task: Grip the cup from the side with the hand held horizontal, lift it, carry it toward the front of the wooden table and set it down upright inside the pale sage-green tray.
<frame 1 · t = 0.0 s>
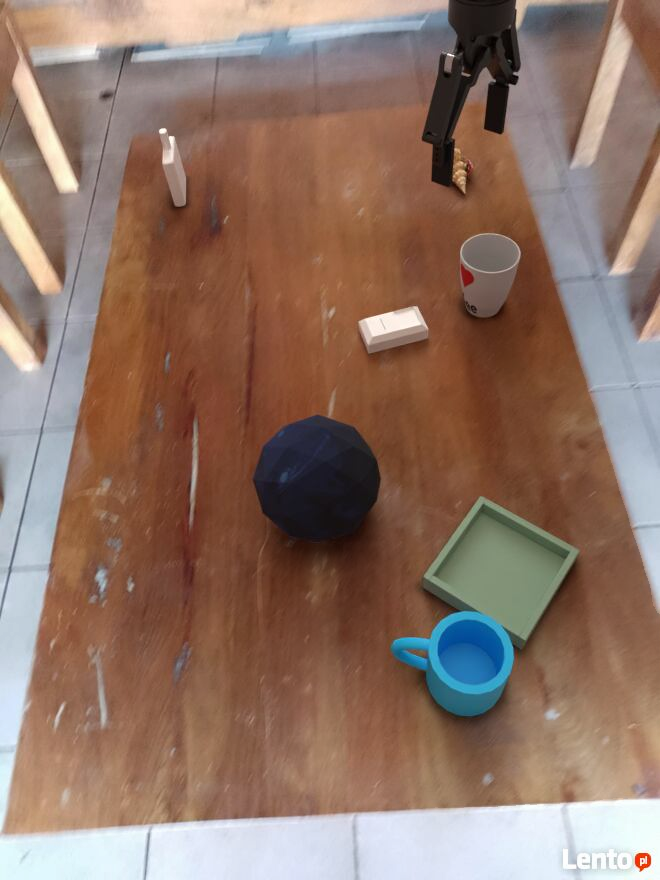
hand: (468, 156, 97), 19 cm above the table, tool pointing down, fingers open, 13 cm apart
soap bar: (393, 335, 105), on the table
tray: (498, 574, 82), on the table
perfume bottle: (181, 193, 128), on the table
mug: (446, 672, 76), on the table
cup: (483, 306, 107), on the table
spiral snail shell: (455, 174, 125), on the table
decorative orb: (323, 509, 89), on the table
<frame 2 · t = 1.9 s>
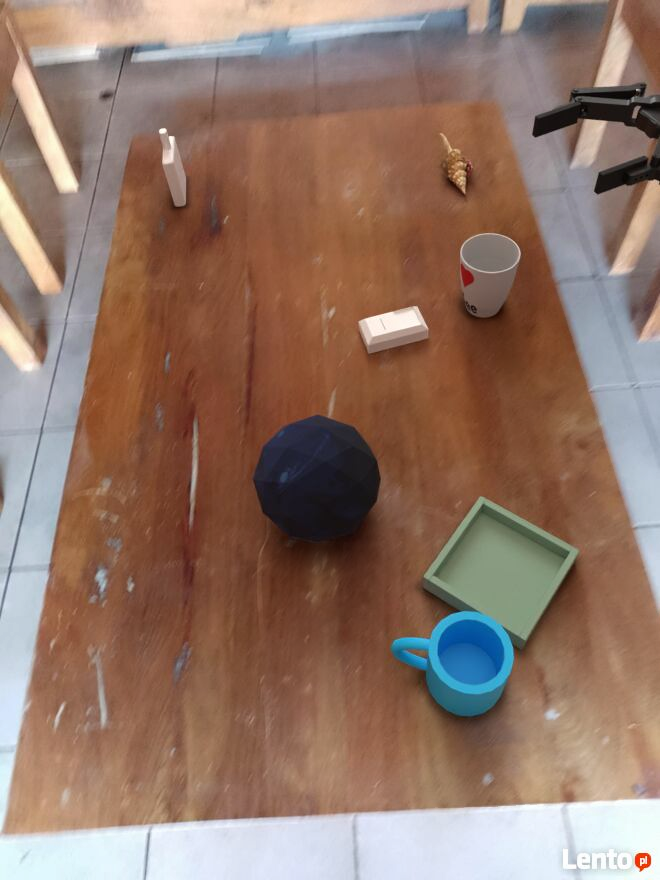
hand: (565, 154, 90), 22 cm above the table, tool horizontal, fingers open, 13 cm apart
nothing on the table moved.
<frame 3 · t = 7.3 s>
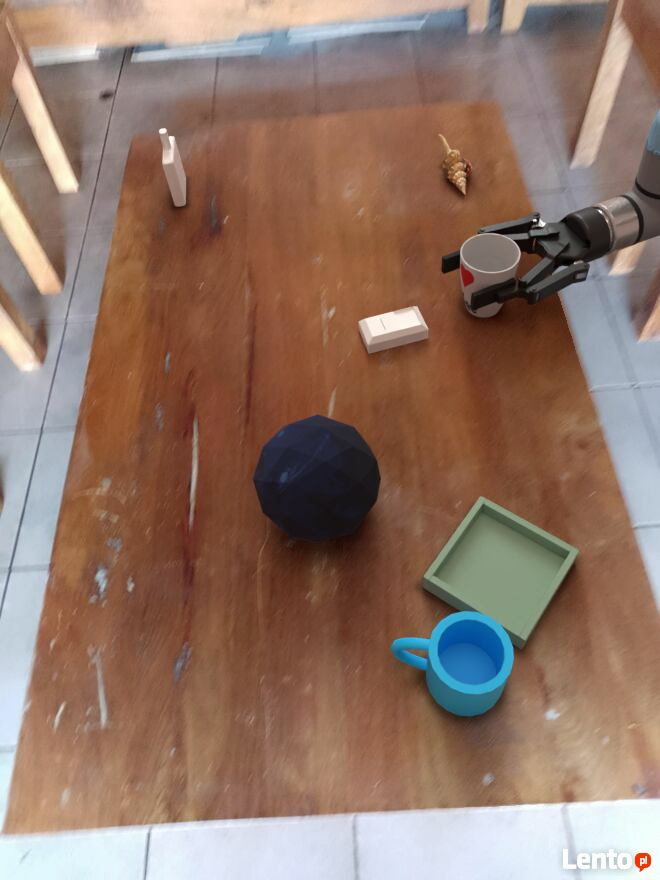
hand: (457, 283, 100), 6 cm above the table, tool horizontal, fingers closed on cup, 8 cm apart
cup: (483, 306, 107), on the table, touching gripper
everything else where it was.
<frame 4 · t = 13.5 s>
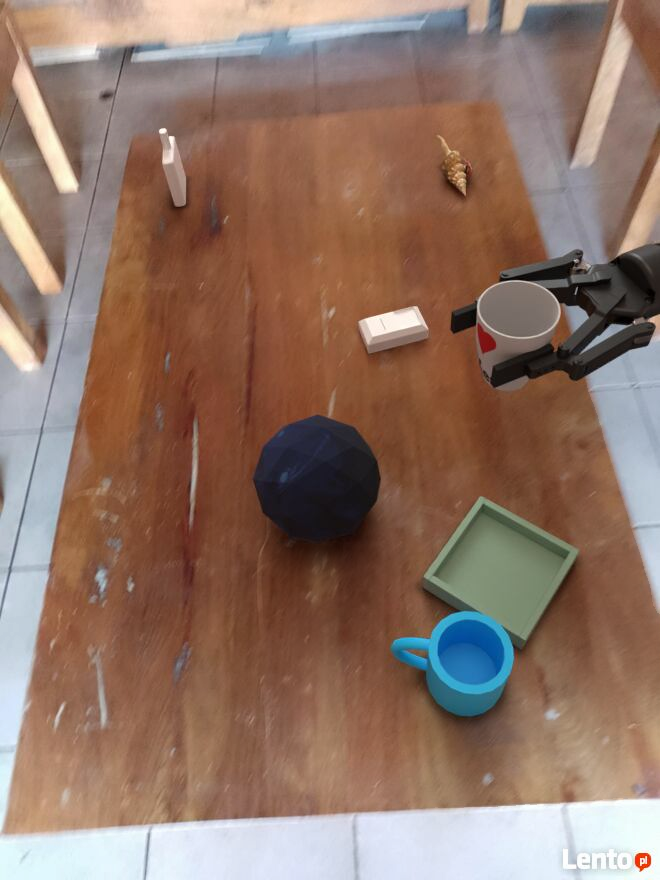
hand: (472, 349, 73), 22 cm above the table, tool horizontal, fingers closed on cup, 8 cm apart
cup: (506, 374, 80), point 15 cm above the table, touching gripper
everything else where it was.
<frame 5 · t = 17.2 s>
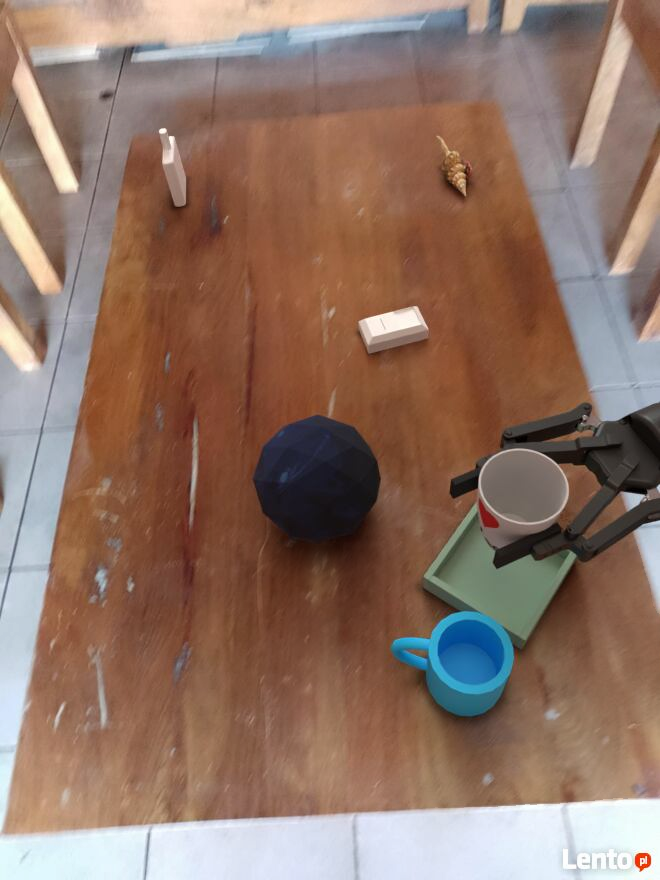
hand: (473, 523, 68), 16 cm above the table, tool horizontal, fingers closed on cup, 8 cm apart
cup: (509, 535, 74), point 10 cm above the table, touching gripper
everything else where it was.
when the fingers open (7 cm above the table, at t = 20.0 s): cup stays where it is, resting on tray.
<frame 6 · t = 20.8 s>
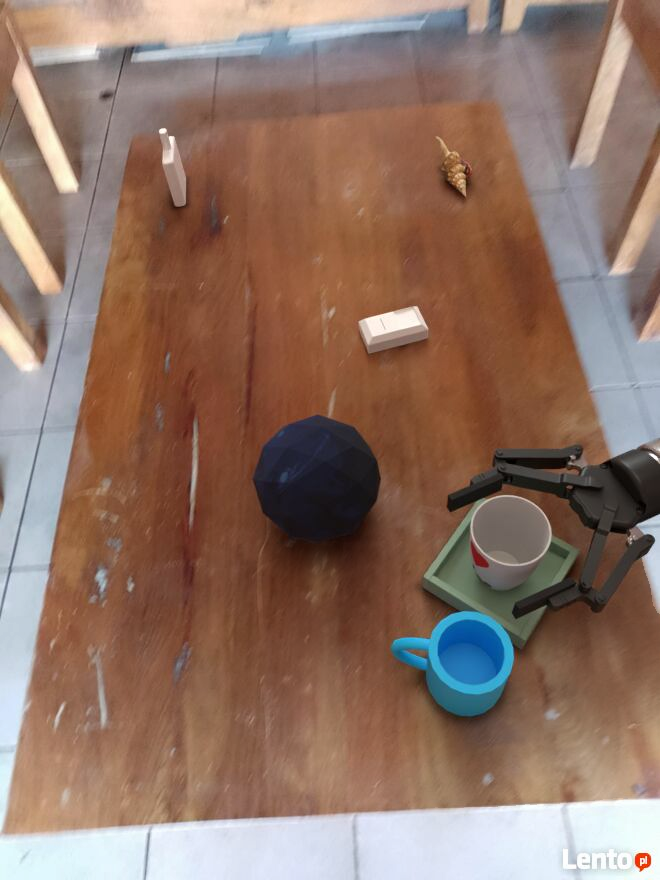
hand: (480, 554, 75), 8 cm above the table, tool horizontal, fingers open, 13 cm apart
cup: (499, 570, 82), point 1 cm above the table, touching tray
everything else where it was.
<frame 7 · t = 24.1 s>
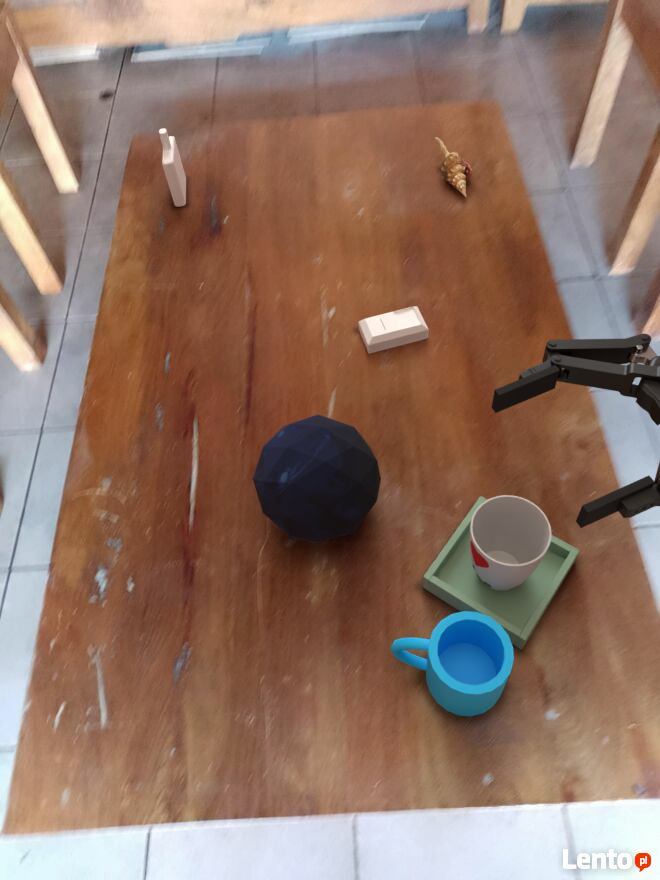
hand: (535, 456, 63), 24 cm above the table, tool horizontal, fingers open, 13 cm apart
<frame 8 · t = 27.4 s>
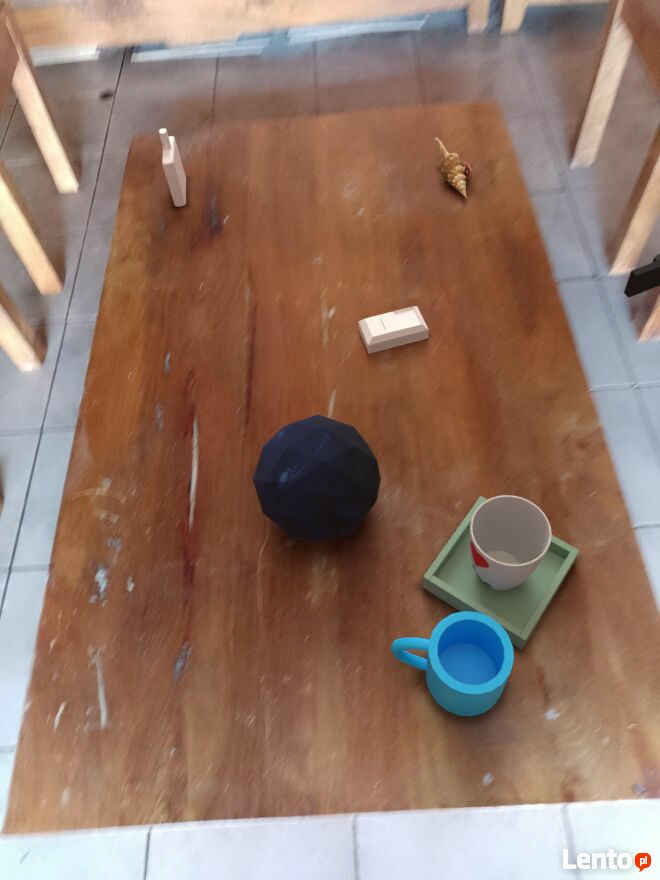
at the end: cup inside the target area in the tray (0.1 cm from its centre), point 0.8 cm above the tray's base; cup tilted 0°; the gripper is holding nothing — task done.
